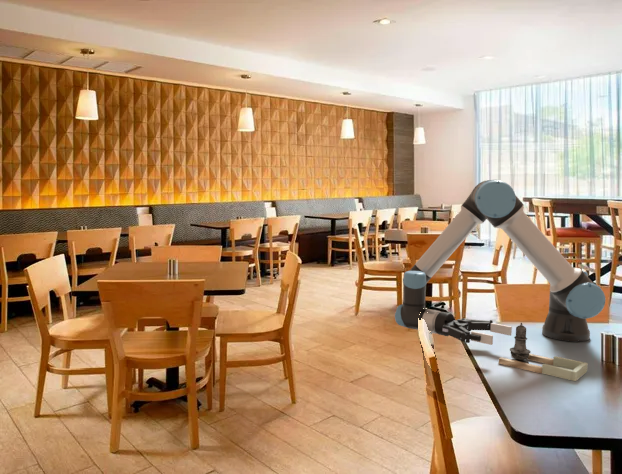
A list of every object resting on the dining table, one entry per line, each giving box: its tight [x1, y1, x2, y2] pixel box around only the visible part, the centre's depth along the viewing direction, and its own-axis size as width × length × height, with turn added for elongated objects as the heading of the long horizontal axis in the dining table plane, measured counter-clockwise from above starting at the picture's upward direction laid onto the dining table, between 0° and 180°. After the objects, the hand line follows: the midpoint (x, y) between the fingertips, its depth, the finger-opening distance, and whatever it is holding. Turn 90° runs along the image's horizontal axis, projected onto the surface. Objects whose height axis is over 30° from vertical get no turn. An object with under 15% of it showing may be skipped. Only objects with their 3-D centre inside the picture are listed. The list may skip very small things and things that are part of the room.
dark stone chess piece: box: [509, 322, 532, 364], centre depth 163 cm, size 6×6×12 cm
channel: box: [498, 353, 554, 375], centre depth 162 cm, size 12×11×2 cm
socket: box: [541, 355, 589, 382], centre depth 155 cm, size 9×10×2 cm
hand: (502, 335), depth 166 cm, fingers open, 13 cm apart
